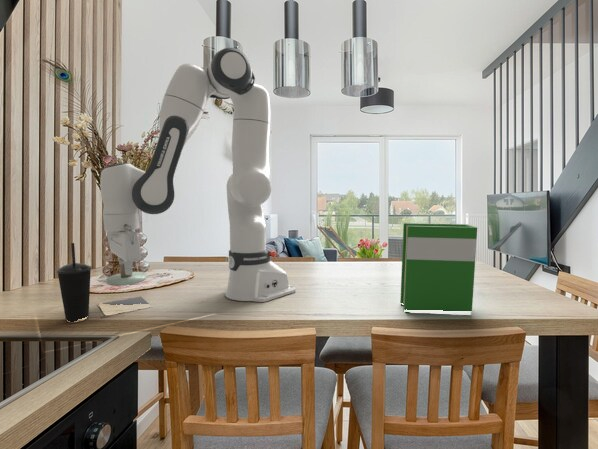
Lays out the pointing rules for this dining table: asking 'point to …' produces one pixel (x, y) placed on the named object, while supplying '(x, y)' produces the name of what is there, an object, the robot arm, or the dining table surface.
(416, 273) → the hardback book
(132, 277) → the lid
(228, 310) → the dining table surface
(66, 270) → the drinking cup
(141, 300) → the mat
